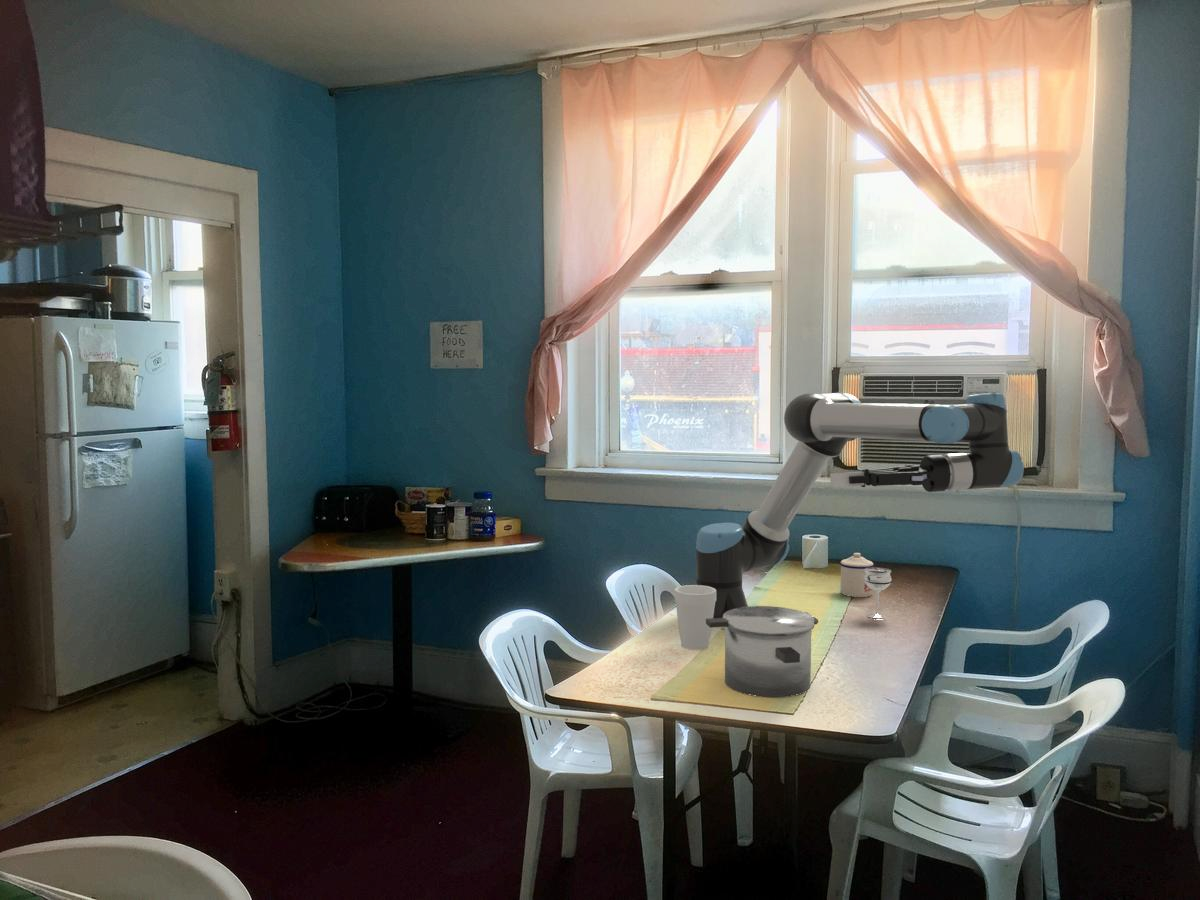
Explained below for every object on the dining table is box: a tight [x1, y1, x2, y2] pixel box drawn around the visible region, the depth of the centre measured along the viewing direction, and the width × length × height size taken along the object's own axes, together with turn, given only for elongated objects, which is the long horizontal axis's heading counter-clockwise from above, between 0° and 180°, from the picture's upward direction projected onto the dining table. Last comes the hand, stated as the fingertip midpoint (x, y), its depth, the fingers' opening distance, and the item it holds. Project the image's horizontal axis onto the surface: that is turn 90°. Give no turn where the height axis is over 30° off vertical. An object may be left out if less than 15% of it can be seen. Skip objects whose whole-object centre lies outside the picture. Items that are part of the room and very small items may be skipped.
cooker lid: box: [706, 605, 819, 636], centre depth 185 cm, size 22×18×1 cm
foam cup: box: [674, 584, 716, 651], centre depth 211 cm, size 10×9×13 cm
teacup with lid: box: [839, 552, 875, 598], centre depth 262 cm, size 12×9×12 cm
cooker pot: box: [724, 627, 812, 698], centre depth 186 cm, size 17×26×12 cm, turn 10°
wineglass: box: [864, 567, 892, 618], centre depth 236 cm, size 7×7×12 cm
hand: (831, 480), depth 189 cm, fingers closed
